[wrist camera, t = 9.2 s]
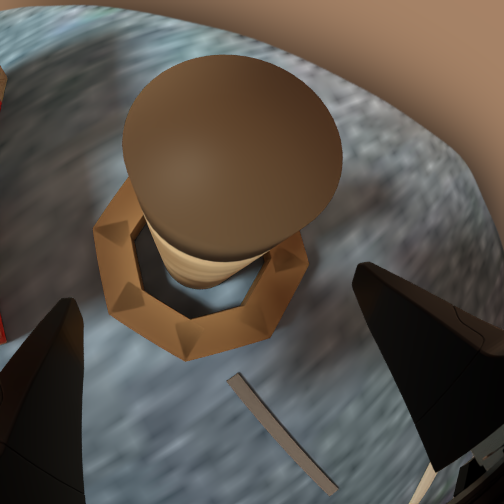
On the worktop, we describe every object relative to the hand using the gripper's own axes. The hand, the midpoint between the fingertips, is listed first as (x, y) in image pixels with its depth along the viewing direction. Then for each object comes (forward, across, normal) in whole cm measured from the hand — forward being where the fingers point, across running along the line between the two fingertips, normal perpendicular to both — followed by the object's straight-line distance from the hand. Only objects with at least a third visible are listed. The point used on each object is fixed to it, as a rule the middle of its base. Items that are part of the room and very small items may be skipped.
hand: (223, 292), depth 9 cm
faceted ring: (+8, 0, +4) cm, 9 cm away
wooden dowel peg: (+8, 0, +4) cm, 9 cm away
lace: (-1, -4, +13) cm, 14 cm away
